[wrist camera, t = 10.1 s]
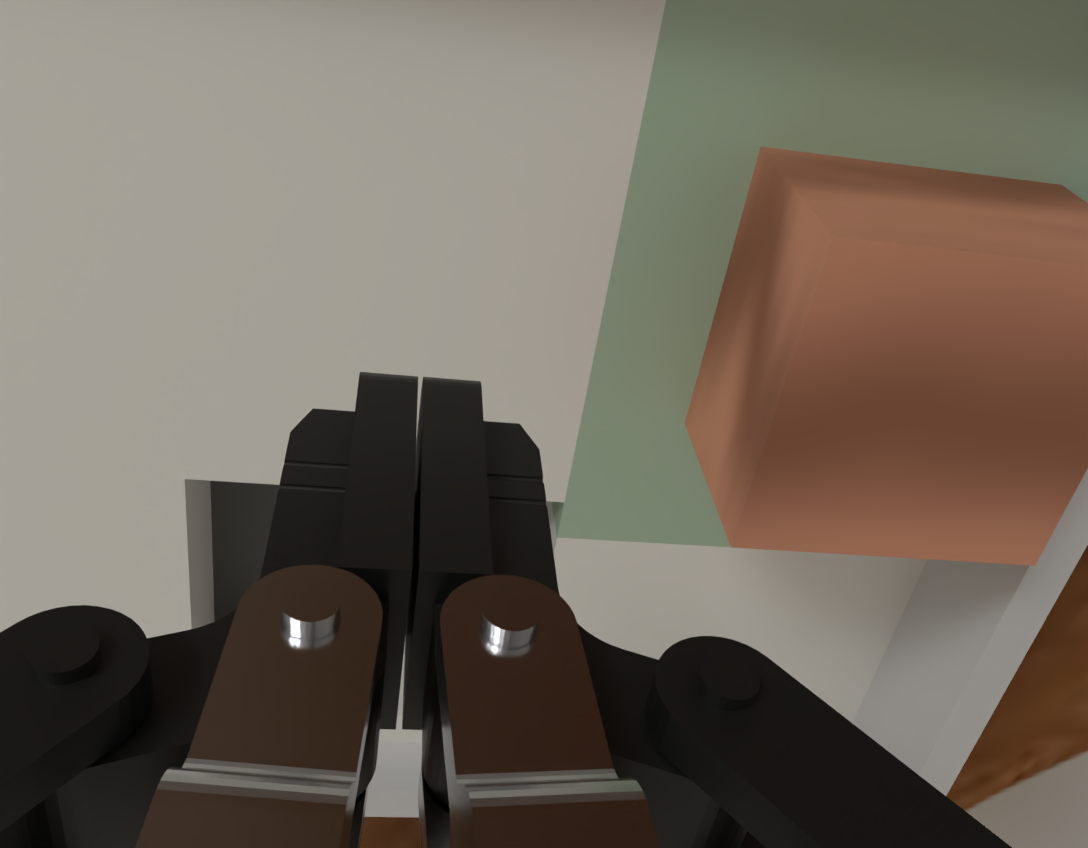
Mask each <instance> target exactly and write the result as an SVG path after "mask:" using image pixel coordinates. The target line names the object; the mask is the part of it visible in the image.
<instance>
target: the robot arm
mask: <svg viewBox="0 0 1088 848" xmlns="http://www.w3.org/2000/svg"><path fill="white" fill-rule="evenodd" d="M417 401H418V376H407V375H395V374H382V373H370V372H360V374H359V381H358V390H357V398H356V406H355V411H341V410H328V409H315V408H313V409H312V410H311V411H310V412H309V413H308V414H307V415H306V416H305V417H304V418H303V419H302V420H301V421H300V422H299V423H298V424H297V425H296V426H295V427H294V429H293V430H292V431H291V432H290V436H289V441H288V445H287V450H286V455H285V460H284V466H283V470H282V475H281V479H280V487H279V489H278V494H277V499H276V504H275V509H274V513H273V518H272V523H271V528H270V533H269V538H268V542H267V547H266V552H265V557H264V562H263V567H262V572H261V576H260V579H259V580H258V581H257V582H255V583H254V584H253V585H252V586H251V587H250V588H249V589H248V590H247V591H246V592H245V594H244V595H243V596H242V598H241V600H240V602H239V604H238V607H237V609H236V610H234V611H233V612H231V613H230V614H228V615H227V616H225V617H223V618H221V619H219V620H217V621H215V622H212V623H210V624H207V625H204V626H202V627H198V628H194V629H190V630H186V631H181V632H176V633H171V634H166V635H161V636H156V637H151V638H146V635H145V633H144V632H143V630H142V629H141V627H140V626H139V625H138V624H137V623H136V622H135V621H133V620H132V619H131V618H129V617H128V616H126V615H124V614H122V613H120V612H117V611H115V610H112V609H108V608H104V607H99V606H89V605H75V606H65V607H58V608H54V609H50V610H46V611H42V612H40V613H37V614H34V615H32V616H29V617H27V618H25V619H23V620H21V621H19V622H17V623H15V624H14V625H12V626H10V627H9V628H7V629H5V630H4V631H2V632H0V848H360V842H361V835H362V829H363V822H364V816H365V809H366V803H367V796H368V785H369V783H370V781H371V780H372V778H373V775H374V772H375V769H376V763H377V754H378V743H379V732H380V729H393V730H396V722H397V713H398V703H399V693H400V683H401V674H402V664H403V654H404V644H405V661H404V688H403V715H402V729H406V730H422V761H421V769H420V777H419V785H418V810H419V825H420V840H421V848H1012V847H1010V846H1009V845H1008V844H1007V843H1005V842H1004V841H1003V840H1001V839H1000V838H999V837H998V836H996V835H995V834H994V833H992V832H991V831H990V830H989V829H987V828H986V827H985V826H983V825H982V824H981V823H980V822H978V821H977V820H976V819H974V818H973V817H972V816H971V815H969V814H968V813H967V812H965V811H964V810H963V809H962V808H960V807H959V806H958V805H956V804H955V803H954V802H953V801H951V800H950V799H949V798H947V797H946V796H945V795H944V794H942V793H941V792H940V791H939V790H937V789H936V788H935V787H933V786H932V785H931V784H930V783H928V782H927V781H926V780H924V779H923V778H922V777H921V776H919V775H918V774H917V773H915V772H914V771H913V770H912V769H910V768H909V767H908V766H906V765H905V764H904V763H903V762H901V761H900V760H899V759H897V758H896V757H895V756H894V755H892V754H891V753H890V752H888V751H887V750H886V749H885V748H883V747H882V746H881V745H879V744H878V743H877V742H876V741H874V740H873V739H872V738H870V737H869V736H868V735H867V734H865V733H864V732H863V731H862V730H860V729H859V728H858V727H856V726H855V725H854V724H853V723H851V722H850V721H849V720H847V719H846V718H845V717H844V716H842V715H841V714H840V713H838V712H837V711H836V710H835V709H833V708H832V707H831V706H829V705H828V704H827V703H826V702H824V701H823V700H822V699H820V698H819V697H818V696H817V695H815V694H814V693H813V692H811V691H810V690H809V689H808V688H806V687H805V686H804V685H802V684H801V683H800V682H799V681H797V680H796V679H795V678H793V677H792V676H791V675H790V674H788V673H787V672H786V671H785V670H783V669H782V668H781V667H779V666H778V665H777V664H776V663H774V662H773V661H772V660H770V659H769V658H768V657H766V656H765V655H763V654H762V653H761V652H759V651H758V650H756V649H754V648H752V647H750V646H748V645H746V644H743V643H741V642H738V641H735V640H732V639H728V638H724V637H716V636H697V637H690V638H687V639H684V640H681V641H679V642H677V643H675V644H673V645H672V646H670V647H669V648H668V649H667V650H666V651H665V652H664V653H663V654H662V656H661V657H660V659H659V660H657V659H654V658H651V657H647V656H644V655H641V654H638V653H634V652H631V651H628V650H624V649H621V648H619V647H616V646H613V645H610V644H608V643H606V642H604V641H602V640H600V639H598V638H596V637H595V636H593V635H592V634H590V633H589V632H587V631H586V630H585V629H584V628H582V627H581V626H580V625H579V624H578V623H577V621H576V618H575V615H574V613H573V611H572V610H571V608H570V606H569V605H568V604H567V603H566V601H565V600H564V599H563V598H562V597H561V596H560V594H559V590H558V583H557V576H556V568H555V561H554V554H553V546H552V539H551V531H550V524H549V516H548V509H547V506H546V494H545V487H544V483H543V472H542V464H541V457H540V450H539V448H538V447H537V446H536V444H535V443H534V442H533V440H532V439H531V438H530V436H529V435H528V434H527V433H526V431H525V430H524V429H523V427H522V426H521V425H520V424H517V423H504V422H490V421H484V419H483V403H482V387H481V382H480V381H471V380H459V379H447V378H434V377H423V380H422V388H421V398H420V408H419V418H418V429H417ZM416 432H417V439H416Z"/></svg>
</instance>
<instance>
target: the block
mask: <svg viewBox="0 0 1088 848" xmlns="http://www.w3.org/2000/svg"><path fill="white" fill-rule="evenodd" d="M685 426H686V428H687V431H688V434H689V436H690V439H691V442H692V445H693V447H694V450H695V453H696V455H697V458H698V461H699V463H700V466H701V469H702V471H703V474H704V477H705V479H706V482H707V485H708V487H709V490H710V493H711V495H712V498H713V501H714V503H715V506H716V509H717V512H718V514H719V517H720V520H721V522H722V525H723V528H724V530H725V533H726V536H727V538H728V541H729V544H730V546H731V547H732V548H749V549H765V550H782V551H798V552H815V553H832V554H848V555H865V556H881V557H898V558H915V559H931V560H948V561H964V562H981V563H998V564H1014V565H1031V566H1035V565H1036V563H1037V561H1038V559H1039V557H1040V556H1041V554H1042V552H1043V550H1044V548H1045V546H1046V544H1047V543H1048V541H1049V539H1050V537H1051V535H1052V533H1053V532H1054V530H1055V528H1056V526H1057V524H1058V522H1059V520H1060V519H1061V517H1062V515H1063V513H1064V511H1065V509H1066V508H1067V506H1068V504H1069V502H1070V500H1071V498H1072V496H1073V495H1074V493H1075V491H1076V489H1077V487H1078V485H1079V484H1080V482H1081V480H1082V478H1083V476H1084V474H1085V472H1086V471H1087V469H1088V203H1087V202H1085V201H1084V200H1082V199H1081V198H1080V197H1078V196H1077V195H1075V194H1074V193H1073V192H1071V191H1070V190H1068V189H1067V188H1066V187H1064V186H1063V185H1059V184H1051V183H1044V182H1036V181H1028V180H1020V179H1012V178H1004V177H996V176H989V175H981V174H973V173H965V172H957V171H949V170H941V169H934V168H926V167H918V166H910V165H902V164H894V163H886V162H878V161H871V160H863V159H855V158H847V157H839V156H831V155H823V154H816V153H808V152H800V151H792V150H784V149H776V148H768V147H760V151H759V154H758V158H757V161H756V165H755V169H754V172H753V176H752V180H751V183H750V187H749V191H748V194H747V198H746V202H745V205H744V209H743V213H742V216H741V220H740V224H739V227H738V231H737V234H736V238H735V242H734V245H733V249H732V253H731V256H730V260H729V264H728V267H727V271H726V275H725V278H724V282H723V286H722V289H721V293H720V297H719V300H718V304H717V307H716V311H715V315H714V318H713V322H712V326H711V329H710V333H709V337H708V340H707V344H706V348H705V351H704V355H703V359H702V362H701V366H700V370H699V373H698V377H697V380H696V384H695V388H694V391H693V395H692V399H691V402H690V406H689V410H688V413H687V417H686V421H685Z"/></svg>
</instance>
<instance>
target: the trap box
mask: <svg viewBox="0 0 1088 848" xmlns="http://www.w3.org/2000/svg"><path fill="white" fill-rule="evenodd" d="M760 147H768V148H776V149H784V150H792V151H800V152H808V153H816V154H823V155H831V156H839V157H847V158H855V159H863V160H871V161H878V162H886V163H894V164H902V165H910V166H918V167H926V168H934V169H941V170H949V171H957V172H965V173H973V174H981V175H989V176H996V177H1004V178H1012V179H1020V180H1028V181H1036V182H1044V183H1051V184H1059V185H1063V186H1064V187H1066V188H1067V189H1068V190H1070V191H1071V192H1073V193H1074V194H1075V195H1077V196H1078V197H1080V198H1081V199H1082V200H1084V201H1085V202H1087V203H1088V0H0V632H2V631H4V630H5V629H7V628H9V627H10V626H12V625H14V624H15V623H17V622H19V621H21V620H23V619H25V618H27V617H29V616H32V615H34V614H37V613H40V612H42V611H46V610H50V609H54V608H58V607H65V606H75V605H89V606H99V607H104V608H108V609H112V610H115V611H117V612H120V613H122V614H124V615H126V616H128V617H129V618H131V619H132V620H133V621H135V622H136V623H137V624H138V625H139V626H140V627H141V629H142V630H143V632H144V633H145V635H146V638H151V637H156V636H161V635H166V634H171V633H176V632H181V631H186V630H190V629H194V628H198V627H202V626H204V625H207V624H210V623H212V622H215V621H217V620H219V619H221V618H223V617H225V616H227V615H228V614H230V613H231V612H233V611H234V610H236V609H237V607H238V604H239V602H240V600H241V598H242V596H243V595H244V594H245V592H246V591H247V590H248V589H249V588H250V587H251V586H252V585H253V584H254V583H255V582H257V581H258V580H259V579H260V576H261V572H262V567H263V562H264V557H265V552H266V547H267V542H268V538H269V533H270V528H271V523H272V518H273V513H274V509H275V504H276V499H277V494H278V489H279V487H280V479H281V475H282V470H283V466H284V460H285V455H286V450H287V445H288V441H289V436H290V432H291V431H292V430H293V429H294V427H295V426H296V425H297V424H298V423H299V422H300V421H301V420H302V419H303V418H304V417H305V416H306V415H307V414H308V413H309V412H310V411H311V410H312V409H313V408H315V409H328V410H341V411H355V406H356V398H357V390H358V381H359V374H360V372H370V373H382V374H395V375H407V376H418V401H417V429H418V418H419V408H420V398H421V388H422V380H423V377H434V378H447V379H459V380H471V381H480V382H481V387H482V403H483V419H484V421H490V422H504V423H517V424H520V425H521V426H522V427H523V429H524V430H525V431H526V433H527V434H528V435H529V436H530V438H531V439H532V440H533V442H534V443H535V444H536V446H537V447H538V448H539V450H540V457H541V464H542V472H543V483H544V487H545V494H546V506H547V509H548V516H549V524H550V531H551V539H552V546H553V554H554V561H555V568H556V576H557V583H558V590H559V594H560V596H561V597H562V598H563V599H564V600H565V601H566V603H567V604H568V605H569V606H570V608H571V610H572V611H573V613H574V615H575V618H576V621H577V623H578V624H579V625H580V626H581V627H582V628H584V629H585V630H586V631H587V632H589V633H590V634H592V635H593V636H595V637H596V638H598V639H600V640H602V641H604V642H606V643H608V644H610V645H613V646H616V647H619V648H621V649H624V650H628V651H631V652H634V653H638V654H641V655H644V656H647V657H651V658H654V659H657V660H659V659H660V657H661V656H662V654H663V653H664V652H665V651H666V650H667V649H668V648H669V647H670V646H672V645H673V644H675V643H677V642H679V641H681V640H684V639H687V638H690V637H697V636H716V637H724V638H728V639H732V640H735V641H738V642H741V643H743V644H746V645H748V646H750V647H752V648H754V649H756V650H758V651H759V652H761V653H762V654H763V655H765V656H766V657H768V658H769V659H770V660H772V661H773V662H774V663H776V664H777V665H778V666H779V667H781V668H782V669H783V670H785V671H786V672H787V673H788V674H790V675H791V676H792V677H793V678H795V679H796V680H797V681H799V682H800V683H801V684H802V685H804V686H805V687H806V688H808V689H809V690H810V691H811V692H813V693H814V694H815V695H817V696H818V697H819V698H820V699H822V700H823V701H824V702H826V703H827V704H828V705H829V706H831V707H832V708H833V709H835V710H836V711H837V712H838V713H840V714H841V715H842V716H844V717H845V718H846V719H847V720H849V721H850V722H851V723H853V724H854V725H855V726H856V727H858V728H859V729H860V730H862V731H863V732H864V733H865V734H867V735H868V736H869V737H870V738H872V739H873V740H874V741H876V742H877V743H878V744H879V745H881V746H882V747H883V748H885V749H886V750H887V751H888V752H890V753H891V754H892V755H894V756H895V757H896V758H897V759H899V760H900V761H901V762H903V763H904V764H905V765H906V766H908V767H909V768H910V769H912V770H913V771H914V772H915V773H917V774H918V775H919V776H921V777H922V778H923V779H924V780H926V781H927V782H928V783H930V784H931V785H932V786H933V787H935V788H936V789H937V790H939V791H940V792H941V793H942V794H944V795H945V796H946V795H947V794H948V792H949V790H950V788H951V787H952V785H953V783H954V781H955V779H956V778H957V776H958V774H959V772H960V771H961V769H962V767H963V765H964V763H965V762H966V760H967V758H968V756H969V755H970V753H971V751H972V749H973V747H974V746H975V744H976V742H977V740H978V739H979V737H980V735H981V733H982V732H983V730H984V728H985V726H986V724H987V723H988V721H989V719H990V717H991V716H992V714H993V712H994V710H995V708H996V707H997V705H998V703H999V701H1000V700H1001V698H1002V696H1003V694H1004V692H1005V691H1006V689H1007V687H1008V685H1009V684H1010V682H1011V680H1012V678H1013V676H1014V675H1015V673H1016V671H1017V669H1018V668H1019V666H1020V664H1021V662H1022V660H1023V659H1024V657H1025V655H1026V653H1027V652H1028V650H1029V648H1030V646H1031V644H1032V643H1033V641H1034V639H1035V637H1036V636H1037V634H1038V632H1039V630H1040V628H1041V627H1042V625H1043V623H1044V621H1045V620H1046V618H1047V616H1048V614H1049V612H1050V611H1051V609H1052V607H1053V605H1054V604H1055V602H1056V600H1057V598H1058V596H1059V595H1060V593H1061V591H1062V589H1063V588H1064V586H1065V584H1066V582H1067V580H1068V579H1069V577H1070V575H1071V573H1072V572H1073V570H1074V568H1075V566H1076V564H1077V563H1078V561H1079V559H1080V557H1081V556H1082V554H1083V552H1084V550H1085V548H1086V547H1087V545H1088V469H1087V471H1086V472H1085V474H1084V476H1083V478H1082V480H1081V482H1080V484H1079V485H1078V487H1077V489H1076V491H1075V493H1074V495H1073V496H1072V498H1071V500H1070V502H1069V504H1068V506H1067V508H1066V509H1065V511H1064V513H1063V515H1062V517H1061V519H1060V520H1059V522H1058V524H1057V526H1056V528H1055V530H1054V532H1053V533H1052V535H1051V537H1050V539H1049V541H1048V543H1047V544H1046V546H1045V548H1044V550H1043V552H1042V554H1041V556H1040V557H1039V559H1038V561H1037V563H1036V565H1035V566H1031V565H1014V564H998V563H981V562H964V561H948V560H931V559H915V558H898V557H881V556H865V555H848V554H832V553H815V552H798V551H782V550H765V549H749V548H732V547H731V546H730V544H729V541H728V538H727V536H726V533H725V530H724V528H723V525H722V522H721V520H720V517H719V514H718V512H717V509H716V506H715V503H714V501H713V498H712V495H711V493H710V490H709V487H708V485H707V482H706V479H705V477H704V474H703V471H702V469H701V466H700V463H699V461H698V458H697V455H696V453H695V450H694V447H693V445H692V442H691V439H690V436H689V434H688V431H687V428H686V426H685V421H686V417H687V413H688V410H689V406H690V402H691V399H692V395H693V391H694V388H695V384H696V380H697V377H698V373H699V370H700V366H701V362H702V359H703V355H704V351H705V348H706V344H707V340H708V337H709V333H710V329H711V326H712V322H713V318H714V315H715V311H716V307H717V304H718V300H719V297H720V293H721V289H722V286H723V282H724V278H725V275H726V271H727V267H728V264H729V260H730V256H731V253H732V249H733V245H734V242H735V238H736V234H737V231H738V227H739V224H740V220H741V216H742V213H743V209H744V205H745V202H746V198H747V194H748V191H749V187H750V183H751V180H752V176H753V172H754V169H755V165H756V161H757V158H758V154H759V151H760ZM416 439H417V432H416ZM404 661H405V644H404V654H403V664H402V674H401V683H400V693H399V703H398V713H397V722H396V730H393V729H380V732H379V743H378V754H377V763H376V769H375V772H374V775H373V778H372V780H371V781H370V783H369V785H368V796H367V803H366V809H365V816H364V817H419V810H418V785H419V777H420V769H421V761H422V730H406V729H402V715H403V688H404Z"/></svg>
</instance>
